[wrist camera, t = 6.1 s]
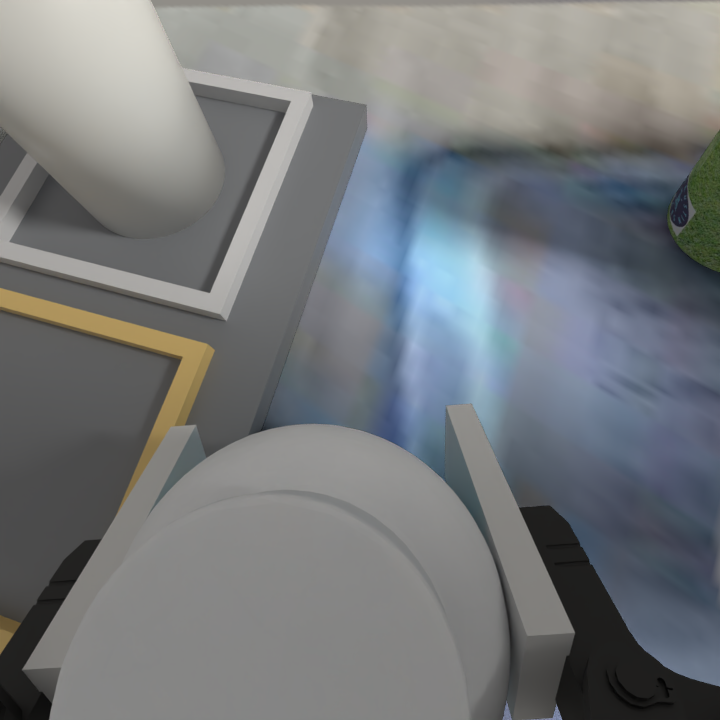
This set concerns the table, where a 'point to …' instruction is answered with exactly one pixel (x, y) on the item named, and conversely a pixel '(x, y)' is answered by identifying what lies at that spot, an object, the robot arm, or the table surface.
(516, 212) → the table surface
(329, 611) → the pill bottle
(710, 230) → the beverage can
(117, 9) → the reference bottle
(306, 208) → the grey base plate
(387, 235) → the table surface
